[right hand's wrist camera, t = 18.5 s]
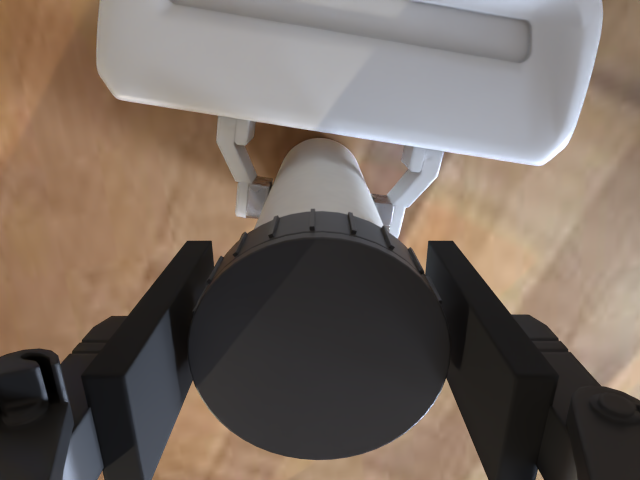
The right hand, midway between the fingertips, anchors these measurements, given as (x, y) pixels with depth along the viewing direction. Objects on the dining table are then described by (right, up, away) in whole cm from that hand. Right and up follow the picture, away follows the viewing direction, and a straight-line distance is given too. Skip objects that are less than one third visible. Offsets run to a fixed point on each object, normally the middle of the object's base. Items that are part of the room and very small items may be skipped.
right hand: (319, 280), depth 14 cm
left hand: (0, +2, +8) cm, 8 cm away
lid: (0, -1, -4) cm, 4 cm away
